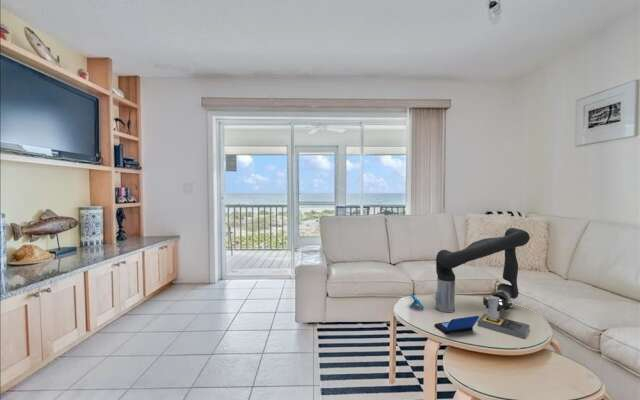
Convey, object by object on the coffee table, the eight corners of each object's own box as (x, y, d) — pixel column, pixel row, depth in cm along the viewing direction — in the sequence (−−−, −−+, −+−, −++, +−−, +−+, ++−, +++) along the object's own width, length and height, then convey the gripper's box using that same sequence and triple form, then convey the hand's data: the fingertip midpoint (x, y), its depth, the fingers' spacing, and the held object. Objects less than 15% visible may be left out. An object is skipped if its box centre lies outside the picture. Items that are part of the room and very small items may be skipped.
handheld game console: (459, 323, 159) (460, 305, 159) (479, 335, 147) (480, 315, 146) (433, 326, 155) (433, 308, 155) (451, 339, 142) (451, 319, 142)
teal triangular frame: (425, 309, 172) (412, 295, 174) (417, 316, 172) (404, 302, 175) (424, 304, 183) (411, 291, 185) (416, 311, 183) (404, 298, 185)
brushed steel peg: (488, 321, 156) (488, 297, 156) (490, 318, 159) (490, 295, 159) (497, 323, 154) (497, 299, 153) (499, 321, 157) (499, 297, 156)
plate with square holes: (477, 325, 156) (477, 320, 156) (484, 318, 165) (484, 313, 165) (525, 338, 142) (525, 333, 142) (529, 330, 151) (529, 324, 151)
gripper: (486, 288, 171) (477, 297, 159) (516, 294, 162) (509, 304, 149) (485, 302, 172) (476, 311, 159) (516, 309, 162) (508, 319, 150)
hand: (492, 308), depth 154 cm, fingers closed on brushed steel peg, 4 cm apart
